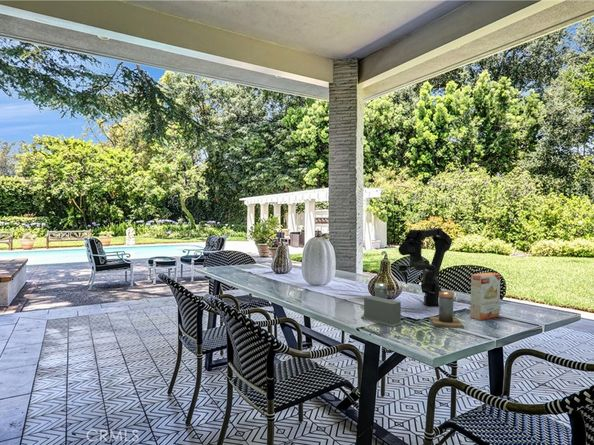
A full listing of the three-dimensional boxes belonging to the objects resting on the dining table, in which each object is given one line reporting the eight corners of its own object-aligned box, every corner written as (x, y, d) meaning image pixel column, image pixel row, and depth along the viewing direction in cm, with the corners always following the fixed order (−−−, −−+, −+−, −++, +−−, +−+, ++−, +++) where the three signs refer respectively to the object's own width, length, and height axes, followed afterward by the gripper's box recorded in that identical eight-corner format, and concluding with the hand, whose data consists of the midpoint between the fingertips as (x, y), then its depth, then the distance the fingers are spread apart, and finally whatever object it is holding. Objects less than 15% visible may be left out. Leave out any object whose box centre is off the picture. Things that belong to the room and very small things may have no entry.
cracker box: (480, 321, 172) (481, 276, 171) (469, 317, 177) (470, 274, 176) (500, 317, 178) (501, 273, 177) (488, 313, 183) (489, 271, 183)
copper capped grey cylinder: (443, 317, 172) (444, 289, 172) (456, 321, 167) (456, 292, 167) (435, 320, 169) (436, 291, 168) (448, 323, 164) (448, 294, 163)
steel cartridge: (385, 307, 196) (385, 282, 196) (388, 310, 190) (388, 285, 190) (373, 307, 196) (373, 282, 196) (376, 310, 190) (376, 285, 189)
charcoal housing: (371, 315, 181) (371, 295, 181) (403, 323, 168) (403, 302, 167) (361, 318, 176) (361, 297, 176) (393, 327, 162) (393, 305, 162)
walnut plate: (429, 318, 175) (429, 316, 175) (456, 320, 173) (456, 317, 173) (434, 326, 163) (434, 324, 163) (463, 328, 161) (463, 325, 161)
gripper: (402, 256, 183) (402, 287, 183) (440, 255, 183) (439, 287, 184) (395, 253, 194) (395, 283, 194) (431, 253, 195) (430, 282, 195)
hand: (415, 284), depth 192 cm, fingers open, 9 cm apart
